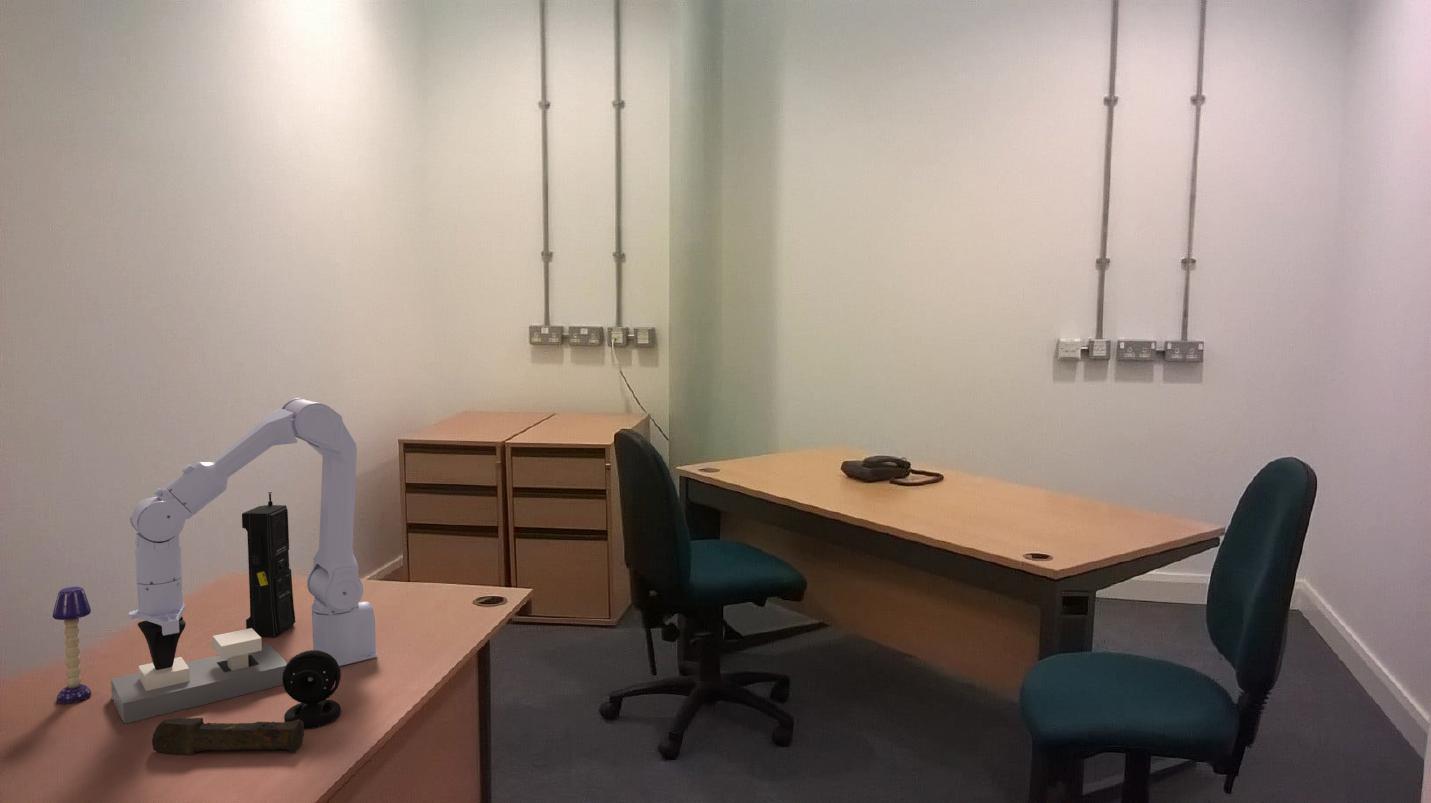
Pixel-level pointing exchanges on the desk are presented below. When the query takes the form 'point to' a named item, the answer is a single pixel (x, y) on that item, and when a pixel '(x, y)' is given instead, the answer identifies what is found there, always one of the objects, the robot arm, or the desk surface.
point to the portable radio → (269, 570)
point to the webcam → (312, 688)
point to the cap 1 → (164, 675)
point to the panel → (198, 685)
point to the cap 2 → (237, 647)
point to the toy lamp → (72, 640)
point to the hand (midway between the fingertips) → (163, 667)
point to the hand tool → (225, 736)
